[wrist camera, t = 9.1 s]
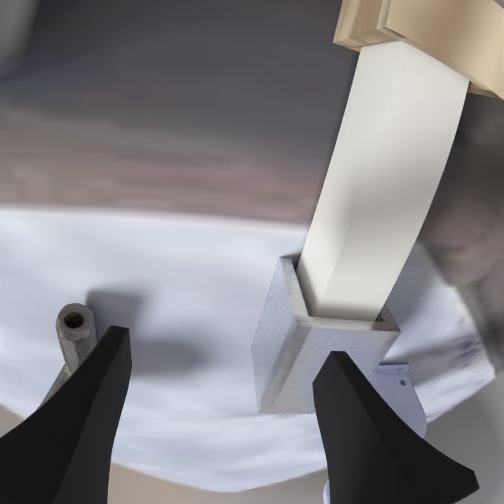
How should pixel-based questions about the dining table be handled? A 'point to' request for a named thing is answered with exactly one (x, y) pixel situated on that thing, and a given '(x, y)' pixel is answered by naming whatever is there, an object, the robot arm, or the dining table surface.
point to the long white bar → (379, 179)
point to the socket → (434, 34)
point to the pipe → (73, 340)
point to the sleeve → (307, 345)
